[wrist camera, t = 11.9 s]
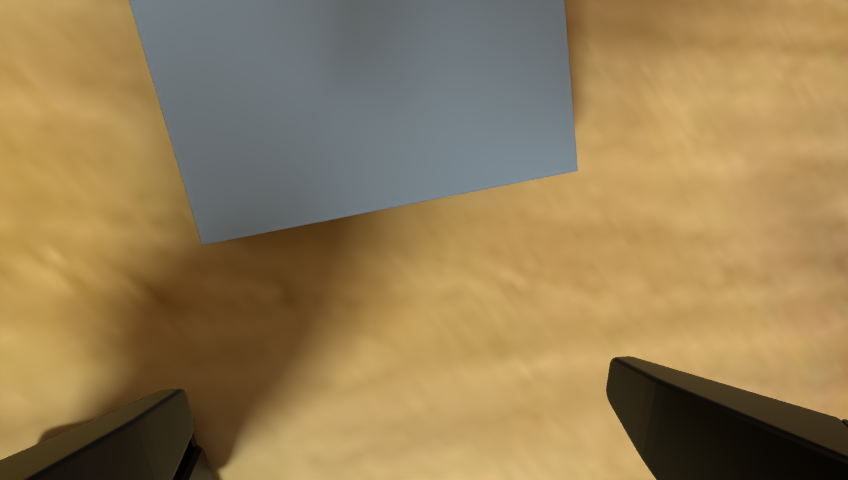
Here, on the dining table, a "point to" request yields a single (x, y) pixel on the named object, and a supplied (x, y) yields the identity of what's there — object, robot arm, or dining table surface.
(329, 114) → the plate
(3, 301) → the dining table surface
